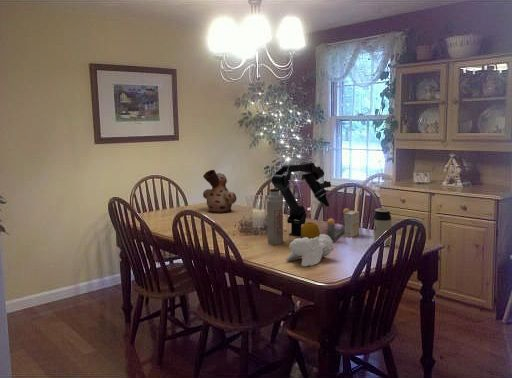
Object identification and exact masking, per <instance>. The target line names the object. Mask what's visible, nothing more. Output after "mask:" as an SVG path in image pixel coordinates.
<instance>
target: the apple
mask: <svg viewBox="0 0 512 378" xmlns="http://www.w3.org/2000/svg"><path fill="white" fill-rule="evenodd" d="M319 235H321V232H320V228H319V226H318V225H317V223H315V222H311V221H307V222H306V221H305V224H302V229H301V236H300V237H301V238H305V237H307V238H309V239H311V238H312V239H313V238H316V237H318V238H319Z"/></svg>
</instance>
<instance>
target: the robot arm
mask: <svg viewBox="0 0 512 378" xmlns="http://www.w3.org/2000/svg"><path fill="white" fill-rule="evenodd" d="M299 172H300V173H303V174H302V175H301V179H300V180H301V181H303V180H304V181H305V183H306V184H307V185H308V187H309V189H310V190H311V192H312V193H313V197H314V198H315V199H316V201H319V202H320V203H321V204H322V205H324V206H325V207H330V204H329V201H328V199H327V191H326V189H325V188H332V184H331V181H327V180H323V182H320V181H318V180H320V179H322V178H323V177H324V176H325V172H324V170H323V168H321V166H316V165H315V162H305V161H304V162H301V163H299V164H283V165H282V166H281V168H279V169H278V170H277V171H276V172H274V174H273V176H272V178H271V182H272V183H271V184H272V185H273V186H274V187H275V189H279V192H280V193H281V196H282V197H283V198H284V200H285V202H286V204H287V205H288V208H289V216H288V217H287V219H286V220H287V223H288V224H290V228H291V230H290V231H291V232H290V233H288V235H289V236H297V237H298V236H299V237H302V236H301V229H302V226H303V225H304V224H305V223H306V220H307V210H306V209H305V207H304V206H303V205H299V204H298V201H297V200H296V199H295V196H294V194H293V193H292V190H291V188H290V187H289V186H290V180H291V178H292V173H299ZM285 173H286V174H285Z"/></svg>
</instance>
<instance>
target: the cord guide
mask: <svg viewBox="0 0 512 378" xmlns="http://www.w3.org/2000/svg"><path fill="white" fill-rule="evenodd" d="M342 211H343V212H342V213H343V215H342V216H343V222H342V223H343V225H342V227H341V228H340V229H338V230H337V231H336V229H335V227H336V226H335V223H336V221H335V219H334V218H328V219H327V221H326V223H327V235H328V236H329V237H330V238H331V240H332V241H333V242H332V243H334V242H335V241H336V240H338V239H339V238H340V237H341V236H342V235H343V234H344V235H345V213H347V212H350V211H351V210H350V209H349V208H347V207H346V208H344V209H343V210H342ZM335 231H336V232H335Z"/></svg>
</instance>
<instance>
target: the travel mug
mask: <svg viewBox="0 0 512 378" xmlns="http://www.w3.org/2000/svg"><path fill="white" fill-rule="evenodd" d="M374 211H375V215H374V217H373V218H374V225H373V226H374V229H373V231H374V232H373V235H374V236H373V243H374V242H375V241H376V240H377V239H378V238H379V237H380V236H381V235H382V234H383V233H384V232H385V231H386V230H388V229H389V228H390V227H391V228H392V226H391V225H392V215H391V213H390V212H391V209H390V208H385V207H381V208H378V207H377V208H375V209H374ZM391 238H392V237H390V238H389V239H388V240H387V241H386V243H385V246H386V247H388V246H387V245H389V244H390V245H391V243H390V241H391V240H392V239H391ZM390 245H389V246H390Z"/></svg>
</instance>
